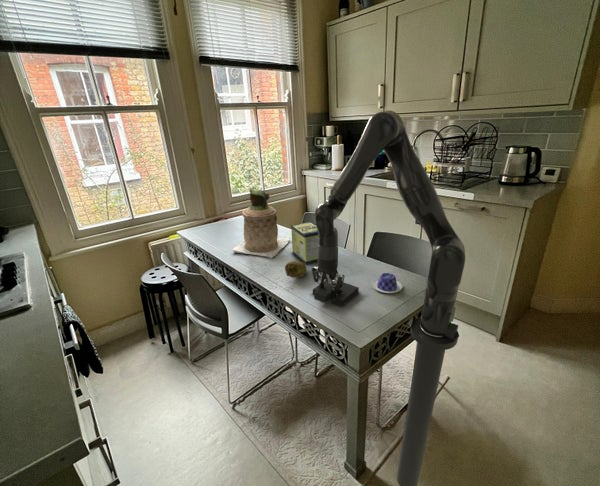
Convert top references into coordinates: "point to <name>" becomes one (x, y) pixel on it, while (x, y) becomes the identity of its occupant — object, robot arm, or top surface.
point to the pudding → (387, 283)
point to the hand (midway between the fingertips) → (327, 294)
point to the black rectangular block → (324, 293)
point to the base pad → (342, 293)
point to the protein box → (305, 242)
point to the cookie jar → (260, 228)
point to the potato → (295, 269)
